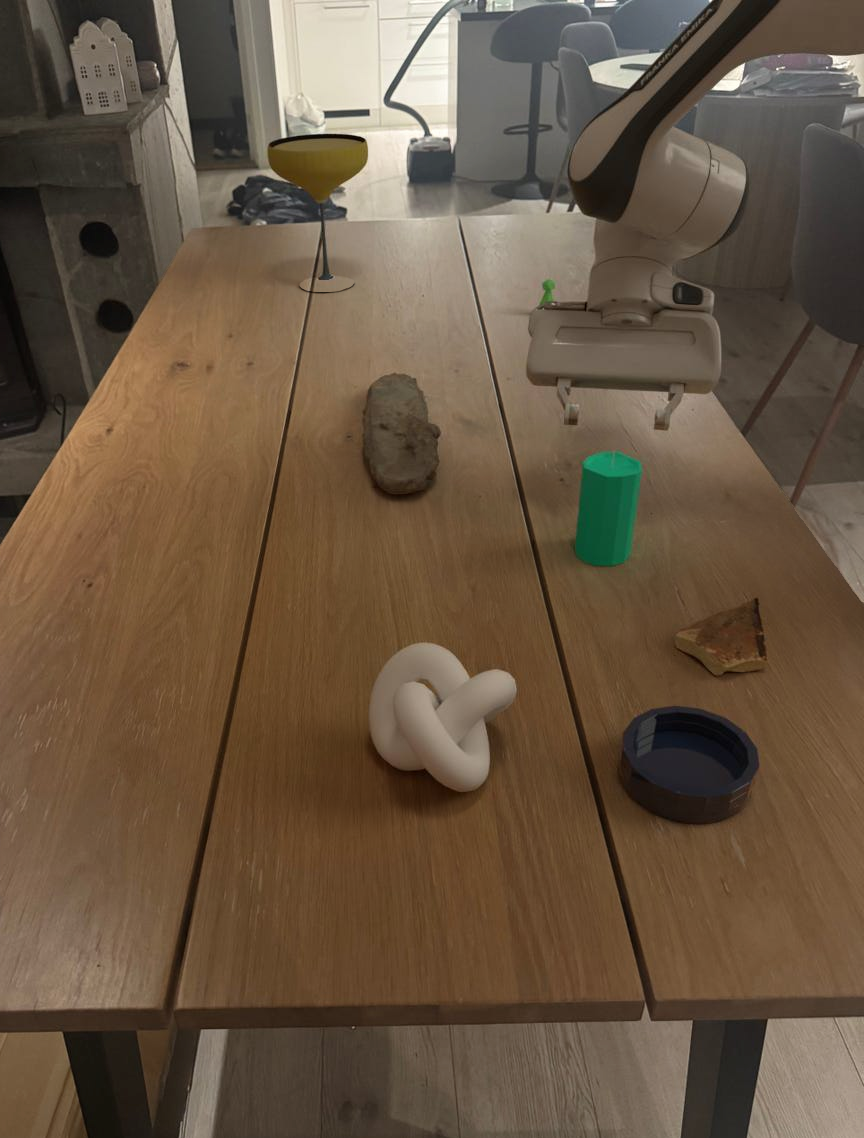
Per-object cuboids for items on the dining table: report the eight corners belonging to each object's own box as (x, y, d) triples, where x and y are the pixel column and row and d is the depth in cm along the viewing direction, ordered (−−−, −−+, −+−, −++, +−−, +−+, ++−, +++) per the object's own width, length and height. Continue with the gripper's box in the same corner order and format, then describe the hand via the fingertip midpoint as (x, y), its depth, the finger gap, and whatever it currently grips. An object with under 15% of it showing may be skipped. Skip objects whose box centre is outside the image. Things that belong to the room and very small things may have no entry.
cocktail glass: (276, 276, 192) (262, 137, 178) (365, 268, 195) (358, 130, 180) (285, 303, 178) (271, 154, 163) (380, 294, 180) (375, 147, 165)
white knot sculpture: (468, 691, 86) (471, 609, 80) (548, 773, 77) (557, 687, 72) (356, 734, 82) (350, 651, 76) (427, 826, 73) (426, 739, 68)
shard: (754, 609, 94) (757, 594, 93) (816, 649, 89) (821, 634, 88) (670, 643, 90) (673, 628, 89) (730, 687, 85) (734, 672, 84)
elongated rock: (427, 396, 143) (361, 403, 144) (425, 361, 140) (357, 368, 141) (450, 495, 114) (367, 503, 114) (447, 454, 111) (362, 462, 111)
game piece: (529, 314, 168) (531, 279, 165) (545, 308, 171) (547, 273, 167) (548, 319, 166) (550, 284, 162) (564, 313, 168) (566, 278, 164)
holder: (768, 763, 77) (776, 735, 76) (724, 844, 71) (732, 815, 69) (648, 717, 82) (653, 690, 80) (597, 789, 76) (601, 761, 74)
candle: (605, 572, 101) (618, 468, 94) (562, 550, 104) (571, 449, 97) (642, 552, 104) (657, 450, 97) (598, 531, 107) (610, 432, 100)
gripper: (530, 286, 102) (516, 408, 101) (730, 292, 99) (719, 420, 97) (532, 314, 109) (518, 430, 107) (720, 321, 105) (709, 442, 103)
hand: (615, 425), depth 102 cm, fingers open, 8 cm apart
